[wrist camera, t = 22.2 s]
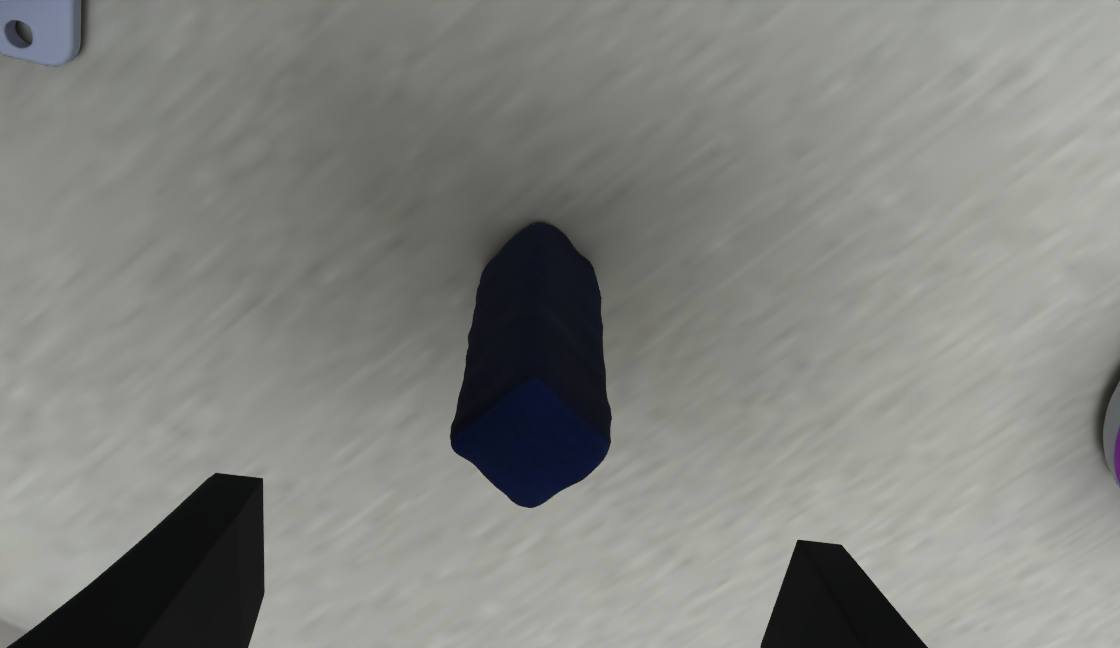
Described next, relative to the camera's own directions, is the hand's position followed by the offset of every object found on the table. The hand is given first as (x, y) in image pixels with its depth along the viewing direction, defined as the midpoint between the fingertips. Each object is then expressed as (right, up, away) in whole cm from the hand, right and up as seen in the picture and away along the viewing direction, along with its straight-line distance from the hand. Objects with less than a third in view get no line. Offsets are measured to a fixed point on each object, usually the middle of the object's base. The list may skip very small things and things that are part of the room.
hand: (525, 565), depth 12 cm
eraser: (0, +5, +8) cm, 10 cm away
